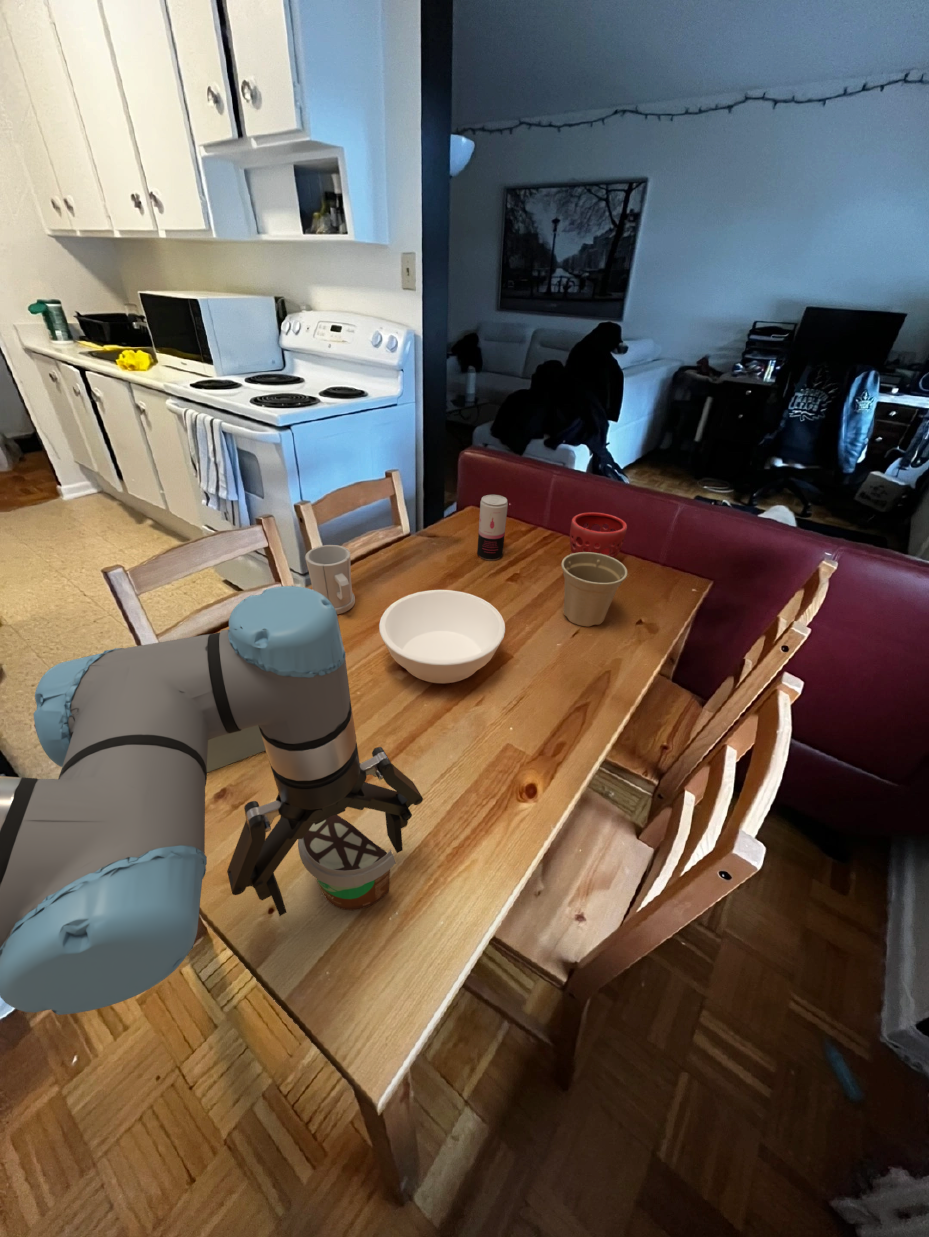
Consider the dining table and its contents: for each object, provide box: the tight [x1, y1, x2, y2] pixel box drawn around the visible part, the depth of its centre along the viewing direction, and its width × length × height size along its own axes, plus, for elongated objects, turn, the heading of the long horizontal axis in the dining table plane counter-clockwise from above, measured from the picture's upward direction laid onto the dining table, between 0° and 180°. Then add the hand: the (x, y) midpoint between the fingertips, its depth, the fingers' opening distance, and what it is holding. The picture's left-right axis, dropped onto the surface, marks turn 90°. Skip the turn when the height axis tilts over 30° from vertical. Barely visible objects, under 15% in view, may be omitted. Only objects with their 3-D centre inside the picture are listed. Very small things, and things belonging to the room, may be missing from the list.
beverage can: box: [476, 494, 509, 561], centre depth 124 cm, size 6×7×15 cm
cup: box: [304, 544, 356, 615], centre depth 103 cm, size 10×9×12 cm
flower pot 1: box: [569, 511, 628, 559], centre depth 123 cm, size 13×13×12 cm
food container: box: [297, 814, 396, 911], centre depth 56 cm, size 12×6×10 cm, turn 55°
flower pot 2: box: [560, 552, 628, 628], centre depth 104 cm, size 13×13×12 cm
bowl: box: [378, 589, 506, 684], centre depth 91 cm, size 22×22×8 cm
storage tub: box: [207, 725, 266, 774], centre depth 76 cm, size 17×15×7 cm
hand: (340, 871), depth 57 cm, fingers open, 13 cm apart
